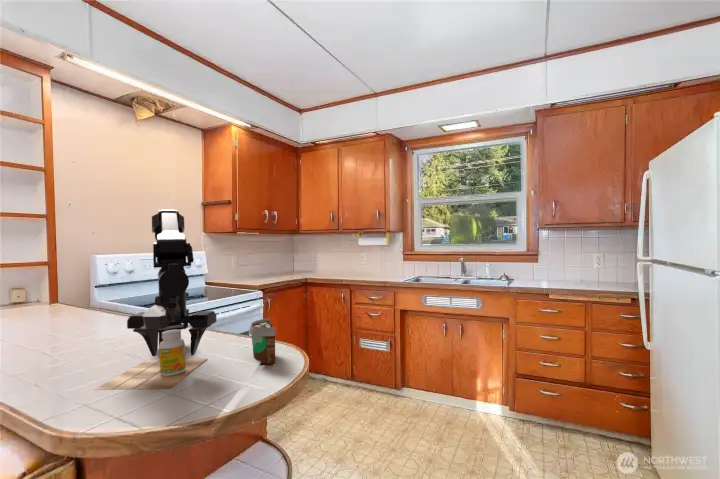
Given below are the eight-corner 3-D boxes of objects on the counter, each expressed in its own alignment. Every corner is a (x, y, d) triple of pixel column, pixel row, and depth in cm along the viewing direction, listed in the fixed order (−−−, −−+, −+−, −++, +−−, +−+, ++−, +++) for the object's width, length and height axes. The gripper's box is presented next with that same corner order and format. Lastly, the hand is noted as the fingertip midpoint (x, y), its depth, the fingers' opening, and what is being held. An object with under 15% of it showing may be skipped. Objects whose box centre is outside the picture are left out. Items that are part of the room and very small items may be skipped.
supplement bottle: (157, 378, 81) (155, 335, 81) (163, 369, 86) (161, 330, 86) (183, 374, 82) (181, 332, 82) (187, 366, 88) (185, 327, 88)
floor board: (145, 364, 93) (145, 360, 93) (176, 364, 93) (175, 359, 93) (94, 395, 75) (94, 389, 75) (131, 394, 75) (131, 388, 75)
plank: (177, 364, 93) (177, 359, 93) (207, 363, 93) (207, 358, 93) (133, 394, 75) (132, 388, 75) (170, 393, 75) (170, 387, 75)
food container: (248, 355, 100) (247, 319, 100) (270, 352, 102) (269, 317, 102) (250, 370, 88) (250, 330, 88) (276, 366, 90) (275, 327, 90)
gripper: (109, 296, 76) (110, 368, 76) (195, 295, 76) (196, 367, 76) (141, 288, 87) (142, 352, 87) (216, 287, 87) (217, 351, 87)
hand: (173, 355), depth 84 cm, fingers open, 9 cm apart
